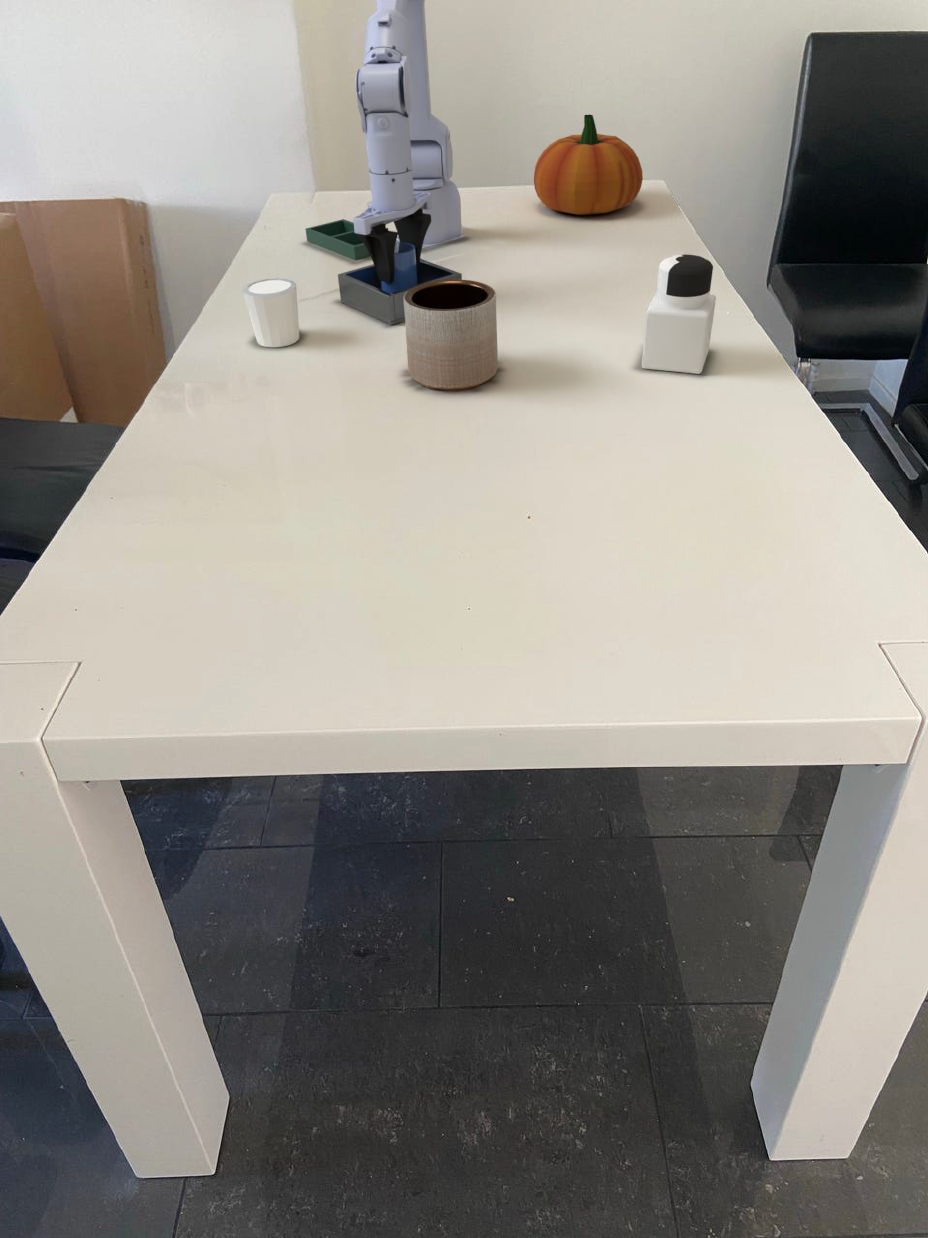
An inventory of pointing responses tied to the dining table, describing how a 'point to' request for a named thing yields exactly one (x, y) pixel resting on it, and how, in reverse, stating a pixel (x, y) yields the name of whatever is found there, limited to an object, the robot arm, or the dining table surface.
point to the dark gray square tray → (369, 297)
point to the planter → (451, 333)
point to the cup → (402, 269)
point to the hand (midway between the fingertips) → (399, 274)
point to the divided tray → (338, 239)
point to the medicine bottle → (680, 316)
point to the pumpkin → (588, 173)
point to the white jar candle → (273, 311)
